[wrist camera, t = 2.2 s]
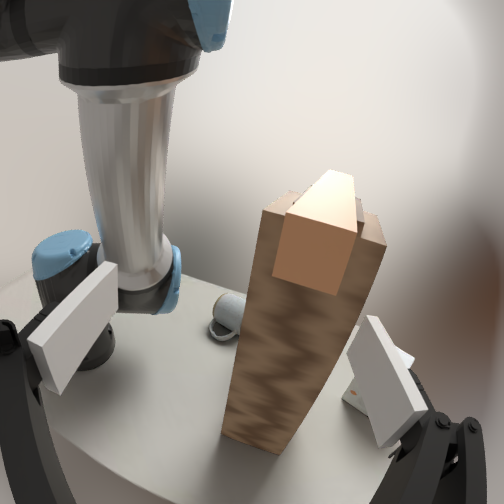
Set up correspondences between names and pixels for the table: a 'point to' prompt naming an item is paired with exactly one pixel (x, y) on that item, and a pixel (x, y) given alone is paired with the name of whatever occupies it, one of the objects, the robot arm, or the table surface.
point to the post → (293, 333)
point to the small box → (353, 392)
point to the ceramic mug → (228, 314)
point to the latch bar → (319, 235)
